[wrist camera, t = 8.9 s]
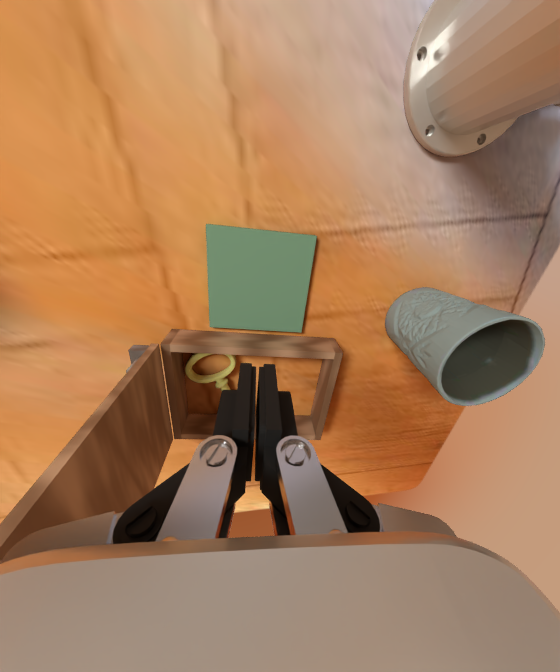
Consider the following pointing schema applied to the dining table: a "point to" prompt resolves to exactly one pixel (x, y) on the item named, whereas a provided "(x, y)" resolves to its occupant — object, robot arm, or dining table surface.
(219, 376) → the key
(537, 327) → the grey-blue cup
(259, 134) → the dining table surface
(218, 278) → the pad
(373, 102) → the dining table surface
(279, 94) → the dining table surface
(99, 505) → the case
